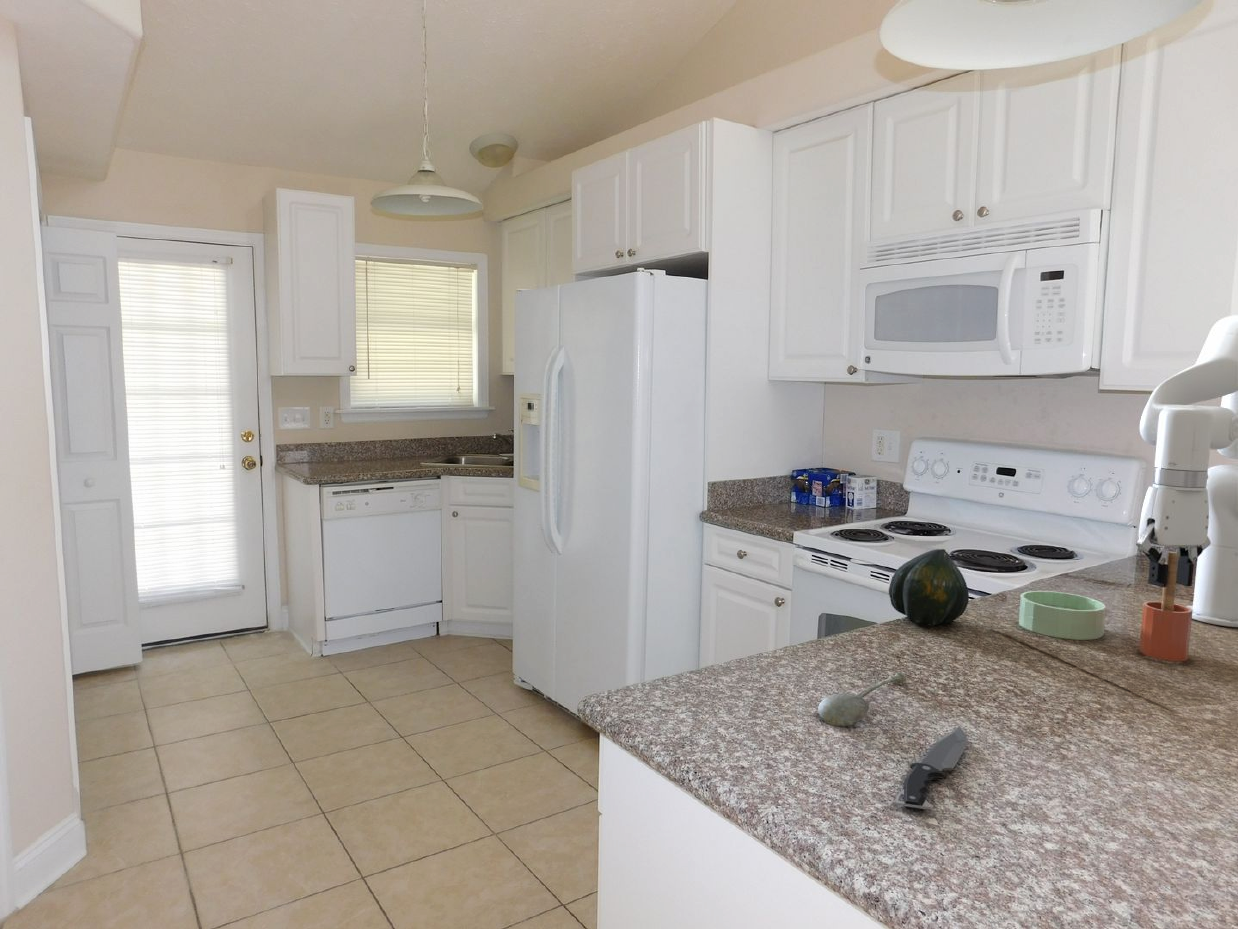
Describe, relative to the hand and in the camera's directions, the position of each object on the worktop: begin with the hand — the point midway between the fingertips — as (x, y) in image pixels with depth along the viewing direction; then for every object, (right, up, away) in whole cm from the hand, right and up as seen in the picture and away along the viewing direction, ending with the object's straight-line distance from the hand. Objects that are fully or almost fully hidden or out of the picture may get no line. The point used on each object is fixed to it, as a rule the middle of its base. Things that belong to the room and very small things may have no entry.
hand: (1169, 583), depth 139 cm
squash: (-34, -10, +20) cm, 41 cm away
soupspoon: (-59, -14, -22) cm, 64 cm away
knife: (-56, -16, -42) cm, 72 cm away
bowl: (-11, -11, +15) cm, 22 cm away
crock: (0, -13, +1) cm, 13 cm away
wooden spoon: (0, -12, +1) cm, 12 cm away
